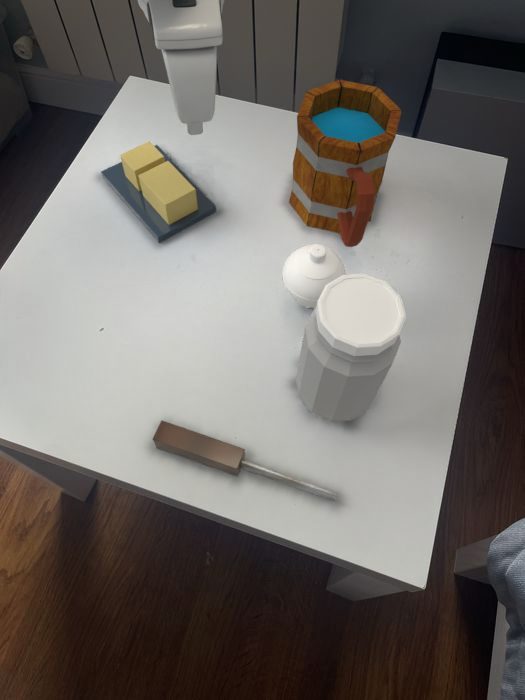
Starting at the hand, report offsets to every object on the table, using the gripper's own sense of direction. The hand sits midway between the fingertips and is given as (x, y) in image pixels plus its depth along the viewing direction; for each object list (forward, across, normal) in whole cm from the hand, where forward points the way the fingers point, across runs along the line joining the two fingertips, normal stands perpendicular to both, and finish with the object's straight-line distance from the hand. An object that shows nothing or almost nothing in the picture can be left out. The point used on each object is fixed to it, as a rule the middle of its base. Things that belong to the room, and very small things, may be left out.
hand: (190, 104), depth 65 cm
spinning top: (+17, +20, +12) cm, 29 cm away
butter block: (+16, 0, -4) cm, 16 cm away
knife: (+17, +40, 0) cm, 44 cm away
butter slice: (+16, -5, -7) cm, 18 cm away
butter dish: (+17, -3, -6) cm, 18 cm away
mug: (+17, +5, +20) cm, 26 cm away
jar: (+17, +33, +13) cm, 39 cm away
